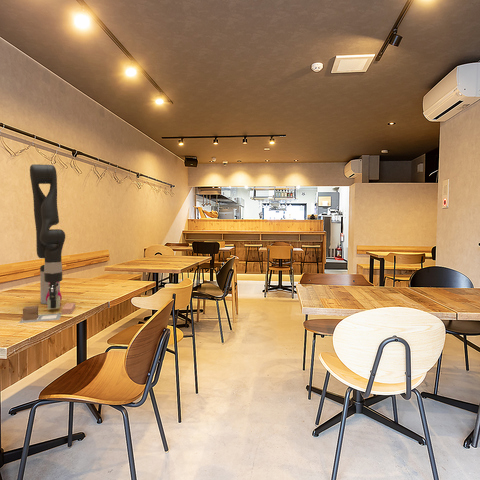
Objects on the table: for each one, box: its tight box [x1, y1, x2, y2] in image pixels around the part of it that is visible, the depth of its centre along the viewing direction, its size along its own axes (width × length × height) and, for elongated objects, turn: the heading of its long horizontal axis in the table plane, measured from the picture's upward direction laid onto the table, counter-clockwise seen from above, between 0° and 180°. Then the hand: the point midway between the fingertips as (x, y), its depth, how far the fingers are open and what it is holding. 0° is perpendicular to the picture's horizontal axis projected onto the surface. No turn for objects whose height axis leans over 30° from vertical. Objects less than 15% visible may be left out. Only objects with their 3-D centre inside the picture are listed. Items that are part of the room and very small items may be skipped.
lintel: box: [61, 302, 76, 315], centre depth 161 cm, size 12×4×4 cm, turn 18°
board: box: [18, 312, 63, 324], centre depth 149 cm, size 12×15×1 cm
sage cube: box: [46, 296, 61, 310], centre depth 162 cm, size 5×5×5 cm
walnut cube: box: [22, 305, 39, 321], centre depth 147 cm, size 5×5×5 cm
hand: (54, 306), depth 162 cm, fingers closed on sage cube, 5 cm apart
